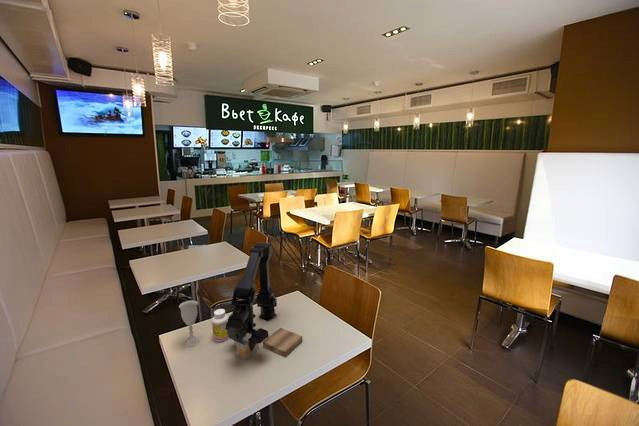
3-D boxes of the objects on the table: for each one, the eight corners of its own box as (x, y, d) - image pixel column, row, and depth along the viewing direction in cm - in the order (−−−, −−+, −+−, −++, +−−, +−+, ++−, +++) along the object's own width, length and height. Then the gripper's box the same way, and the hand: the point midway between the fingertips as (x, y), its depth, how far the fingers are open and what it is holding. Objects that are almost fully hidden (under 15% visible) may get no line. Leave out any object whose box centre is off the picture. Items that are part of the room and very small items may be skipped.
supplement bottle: (210, 337, 131) (208, 311, 128) (224, 331, 136) (222, 305, 133) (218, 344, 126) (216, 317, 124) (231, 337, 131) (230, 311, 128)
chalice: (183, 349, 123) (179, 310, 119) (182, 340, 129) (178, 302, 125) (201, 344, 126) (198, 306, 122) (200, 335, 132) (197, 299, 128)
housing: (236, 356, 119) (235, 340, 118) (250, 345, 126) (249, 330, 125) (244, 360, 117) (244, 345, 116) (258, 349, 124) (258, 334, 122)
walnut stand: (263, 347, 125) (262, 341, 125) (280, 332, 135) (280, 327, 135) (285, 357, 119) (285, 351, 119) (302, 341, 129) (302, 336, 129)
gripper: (213, 316, 116) (216, 351, 119) (248, 331, 106) (250, 369, 110) (235, 304, 125) (236, 336, 128) (268, 317, 116) (269, 352, 119)
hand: (247, 348), depth 121 cm, fingers closed on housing, 5 cm apart
